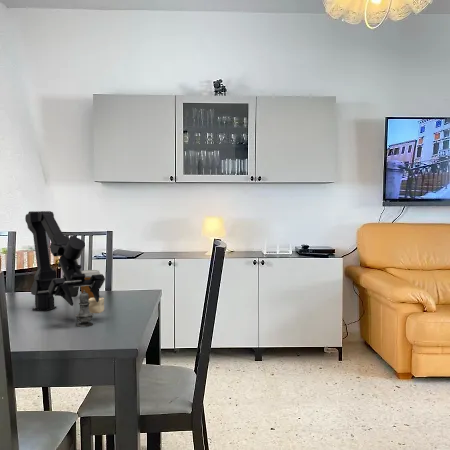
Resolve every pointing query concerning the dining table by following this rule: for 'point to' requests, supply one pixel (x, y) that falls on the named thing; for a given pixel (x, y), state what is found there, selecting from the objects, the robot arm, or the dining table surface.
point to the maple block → (96, 305)
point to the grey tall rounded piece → (84, 311)
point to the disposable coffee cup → (88, 276)
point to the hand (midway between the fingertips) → (85, 303)
